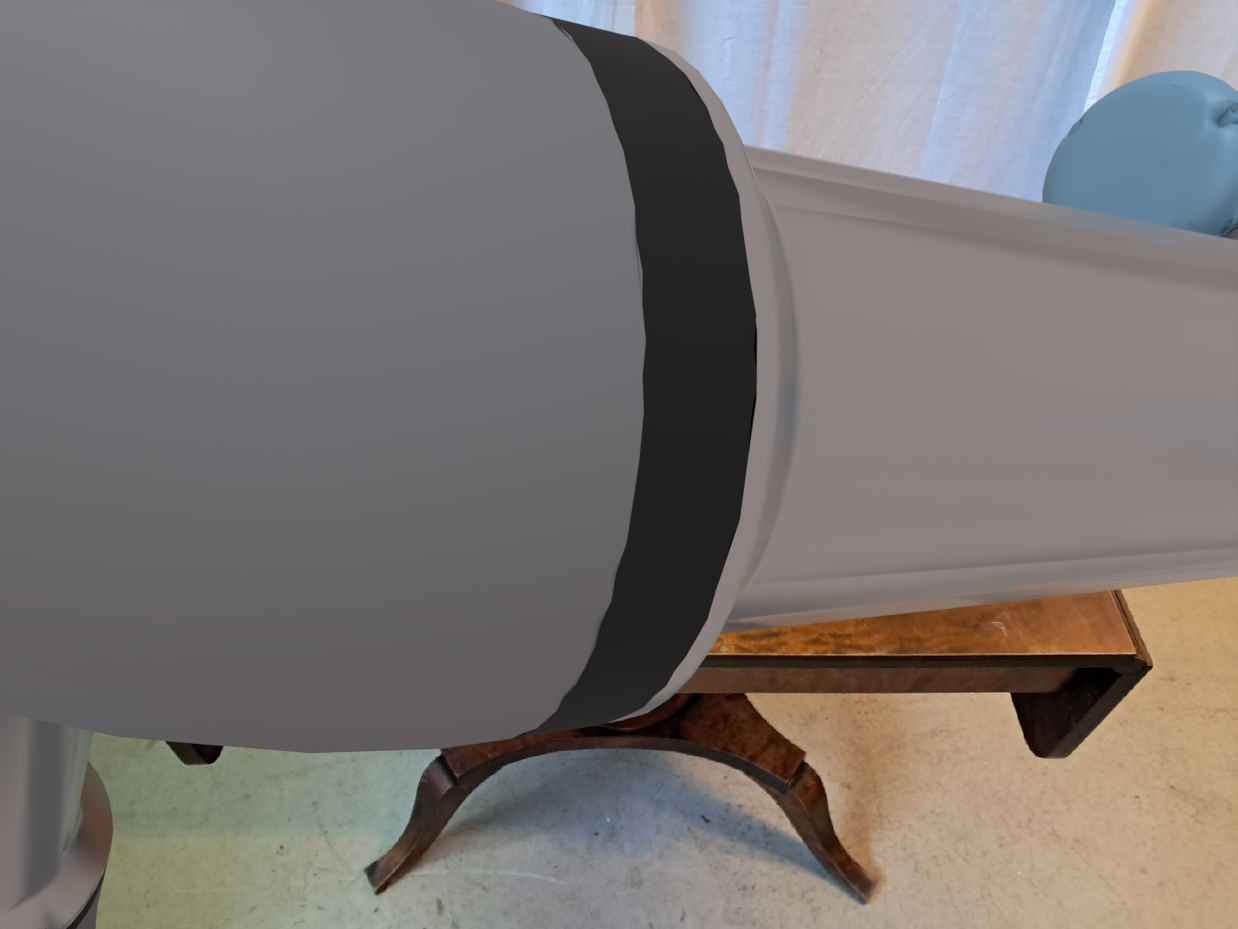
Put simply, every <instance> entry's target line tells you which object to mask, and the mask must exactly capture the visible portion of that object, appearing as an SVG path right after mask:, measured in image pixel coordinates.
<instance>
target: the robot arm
mask: <svg viewBox="0 0 1238 929" xmlns="http://www.w3.org/2000/svg"><path fill="white" fill-rule="evenodd" d="M1237 577H1238V90H1236V89H1235V88H1234V87H1232V86H1231V85H1230V84H1229V83H1227V82H1225V81H1224V80H1223V79H1221V78H1218V77H1216V76H1214V75H1211V74H1208V73H1204V72H1200V71H1196V70H1187V69H1186V70H1185V69H1183V70H1182V69H1181V70H1179V69H1178V70H1176V69H1175V70H1167V71H1159V72H1155V73H1150V74H1147V75H1144V76H1141V77H1138V78H1136V79H1133V80H1131V81H1128V82H1126V83H1124V84H1122V85H1120V86H1118V87H1116V88H1114V89H1112V90H1111V91H1109V92H1107V94H1105V95H1103V96H1102V97H1101V98H1099V99H1098V100H1096V102H1094V103H1093V104H1092V105H1090V106H1089V108H1087V110H1086V111H1085V112H1083V113H1082V115H1081V116H1080V118H1079V119H1078V120H1077V121H1076V122H1074V123H1073V125H1072V126H1071V127H1070V129H1069V131H1068V132H1067V134H1066V135H1064V137H1063V138H1062V139H1061V140H1060V142H1059V144H1058V146H1056V148H1055V150H1054V152H1053V154H1052V156H1051V158H1050V162H1049V163H1048V166H1047V169H1046V173H1045V175H1044V180H1043V185H1042V197H1041V201H1038V200H1032V199H1028V198H1022V197H1018V196H1012V195H1008V194H1007V195H1006V194H1004V193H1003V194H1002V193H998V192H992V191H987V190H982V189H976V188H971V187H967V186H961V185H956V184H950V183H946V182H941V181H937V180H931V179H924V178H920V177H915V176H910V175H904V174H900V173H895V172H889V171H884V170H879V169H874V168H869V167H864V166H859V165H853V164H849V163H843V162H838V161H833V160H828V159H823V158H817V157H812V156H808V155H803V154H797V153H791V152H787V151H783V150H782V151H781V150H776V149H771V148H766V147H760V146H755V145H751V144H745V143H744V142H743V140H742V138H741V135H740V134H739V132H738V130H737V127H736V126H735V124H734V122H733V120H732V118H731V116H730V114H729V112H728V110H727V108H726V105H725V104H724V102H723V101H722V99H721V98H720V97H719V96H718V94H717V93H716V92H715V90H714V89H713V88H712V87H711V85H710V84H709V83H708V81H707V79H705V77H704V76H703V75H702V74H701V72H700V71H699V70H698V69H697V68H696V67H694V66H693V65H692V64H690V62H688V61H687V60H686V59H684V57H682V56H681V55H679V53H677V52H676V51H675V50H672V49H670V48H668V47H666V46H663V45H661V44H658V43H655V42H653V41H650V40H646V39H643V38H640V37H637V36H633V35H628V34H623V33H619V32H615V31H612V30H611V31H610V30H607V29H602V28H598V27H594V26H591V25H586V24H583V23H577V22H573V21H570V20H565V19H562V18H556V17H553V16H548V15H545V14H540V13H536V12H533V11H529V10H526V9H523V8H520V7H517V6H514V5H511V4H508V3H506V2H502V1H500V0H0V929H96V927H97V916H98V905H99V901H100V897H101V893H102V889H103V884H104V879H105V875H106V871H107V866H108V862H109V858H110V854H111V850H112V846H113V837H114V821H113V812H112V806H111V801H110V800H111V799H110V798H109V795H108V792H107V789H106V786H105V784H104V783H103V781H102V779H101V777H100V775H99V773H98V771H97V770H96V769H95V768H94V766H93V764H92V763H91V762H90V761H89V756H90V751H91V746H92V741H93V735H94V733H99V734H104V735H108V736H112V737H118V738H125V739H137V740H149V741H161V742H173V743H186V744H187V743H188V744H195V745H209V746H219V747H220V746H221V747H232V748H244V749H253V750H254V749H256V750H266V751H267V750H269V751H279V752H291V753H304V754H326V753H329V754H330V753H356V752H358V753H359V752H362V753H363V752H388V751H389V752H390V751H391V752H393V751H419V750H422V751H423V750H442V749H449V748H455V747H463V746H469V745H470V746H471V745H476V744H484V743H490V742H498V741H505V740H511V739H512V740H513V739H518V738H524V737H532V736H537V735H545V734H552V733H557V732H563V731H569V730H570V731H571V730H577V729H583V728H589V727H597V726H602V725H606V724H608V723H609V724H610V723H614V722H620V721H624V720H628V719H631V718H635V717H639V716H642V715H645V714H648V713H650V712H652V710H654V709H655V708H658V707H659V706H660V705H662V704H663V703H666V702H667V701H668V700H670V699H671V698H672V697H673V696H674V695H675V694H676V693H677V692H678V691H679V690H680V689H682V687H683V686H684V685H685V684H686V683H687V682H688V681H689V680H690V679H691V678H692V677H693V676H694V674H695V673H696V671H697V670H698V669H699V667H700V666H701V664H702V663H703V661H704V660H705V658H707V656H708V655H709V653H710V652H711V650H712V648H714V645H716V642H717V640H718V638H719V636H720V635H723V634H733V633H741V632H750V631H751V632H752V631H758V630H767V629H778V628H786V627H795V626H805V625H812V624H821V623H831V622H840V621H849V620H857V619H858V620H859V619H867V618H874V617H875V618H876V617H884V616H885V617H886V616H893V615H894V616H895V615H904V614H912V613H913V614H914V613H921V612H931V611H941V610H948V609H949V610H950V609H957V608H958V609H959V608H966V607H976V606H984V605H993V604H1001V603H1012V602H1020V601H1021V602H1022V601H1030V600H1037V599H1047V598H1056V597H1065V596H1074V595H1084V594H1092V593H1102V592H1111V591H1121V590H1127V589H1128V590H1129V589H1138V588H1146V587H1154V586H1155V587H1156V586H1165V585H1174V584H1182V583H1191V582H1199V581H1200V582H1201V581H1208V580H1218V579H1228V578H1237Z"/></svg>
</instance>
